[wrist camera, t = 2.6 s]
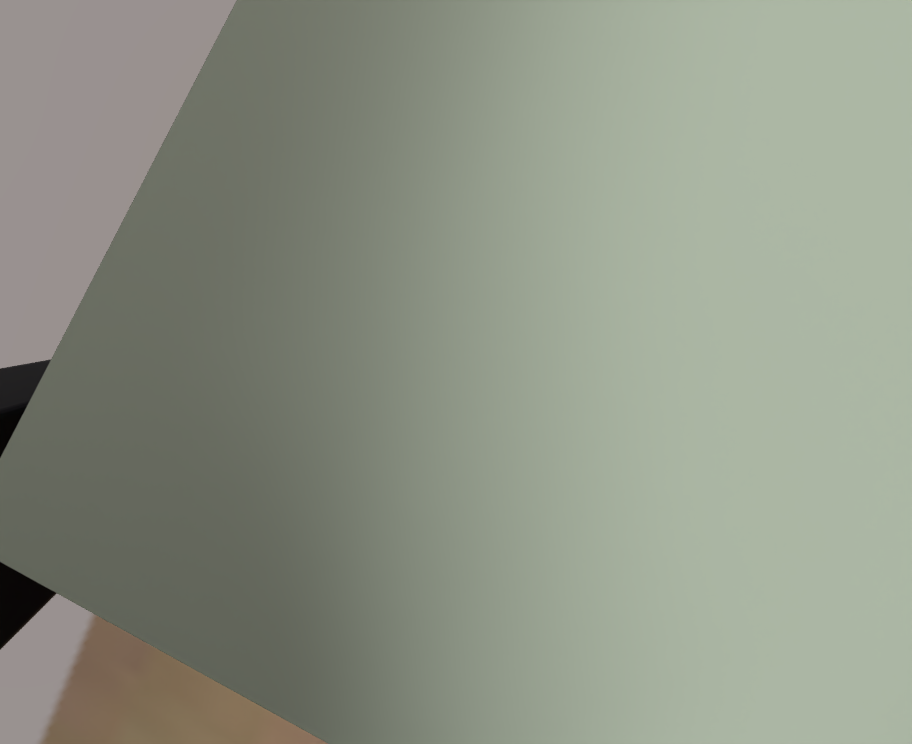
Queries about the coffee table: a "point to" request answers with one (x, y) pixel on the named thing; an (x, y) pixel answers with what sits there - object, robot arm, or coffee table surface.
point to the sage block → (507, 376)
